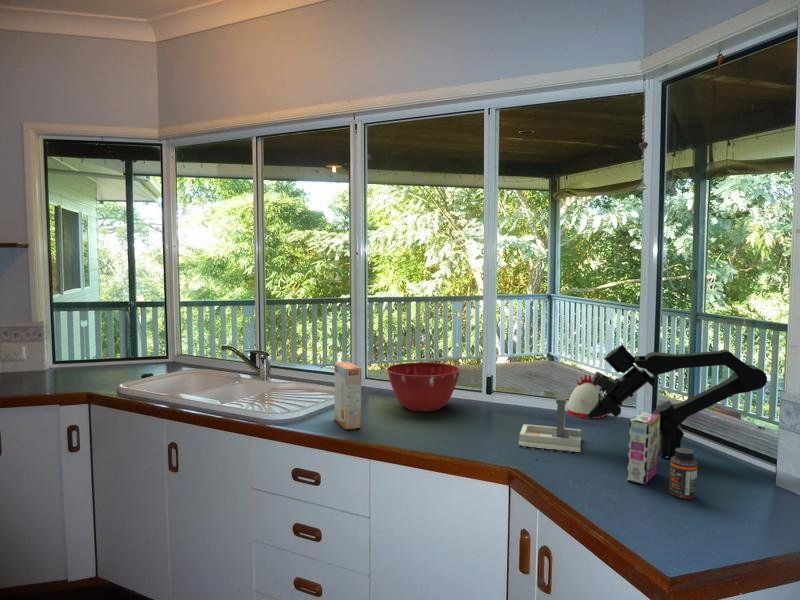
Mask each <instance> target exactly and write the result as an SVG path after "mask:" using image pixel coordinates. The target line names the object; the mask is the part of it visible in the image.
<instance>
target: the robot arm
mask: <svg viewBox="0 0 800 600" xmlns="http://www.w3.org/2000/svg"><path fill="white" fill-rule="evenodd" d="M603 359H604V361H606V362H607V364H608V365H610V367H611V368H613V370H614V371H615V372H616V373H622V374H624V375H622V376H621V377H616V378H615V379H613V378H611V377H610V376H608V375H605V374H604V373H601V372H599V371H596V372H595V374H594V375H593V376H592V378H591V380H592V383H593V384H595V385H596V386H599V388H598V389H599V391H600V392H601V393H602V394H600V393H598V401H597V403H596V404H595V406H594V407H593V408H592V410H591V411H590V412H589V414H588V415H587V416H588V417H589V418H593V417H597V416H601V415H605V414H606V415H609V414H612V416H614V417H615V418H617V417H618V416H620V415H621V413H622V408H621V406H622V405H623V402H625V401H626V400H628V399H629V398H632V397H634V394H635V393H636V392H637V391H639V390H640V389H642V387H644V386H645V385H646V384H647V383H648V384H649V385H650V386H651V387H653V388H654V387H655V385H656V384H655V381H656V376H657V375H659V376H660V375H663V374H666V373H670V372H673V371H676V370H680V369H689V368H702V367H705V368H706V367H714V366H715V367H716V366H718V367H719V366H725V367H727V368H729V369H730V370H731V371H732V372H733V373H731V375H730V376H729V377H727V378H726V379H725V380H724V381H722V382H720V383H718V384H715V385H714V386H712V387H710V388H708V389H706V390H704V391H701V392H700V393H698V394H695V395H694V396H691V397H689V398H688V399H685V400H683V401H681V402H678V403H672V402H671V400H667V401H665V402H664V403H663V404H660V405H656V408H655V409H654V410H653V411H652V413H653V414H658V415H660V431H659V447H658V450H659V452H658V453H659V454H662V455H661V456H663V457H666V456H668V457H673V456H675V449H676V448H682V439H683V437H684V435H685V433H684V430H683V429H682V427H681V425H682V424H683V422H684V421H685V420H686V419H688V418H689V417H691V416H692V415H695V414H697V413H699V412H701V411H703V410H706V409H708V408H710V407H711V406H713V405H715V404H718V403H720V402H722V401H724V400H726V399H728V398H731V397H732V396H734V395H738V394H744V393H745V394H746V393H750V392H753V391H757V390H761V389H762V388H764V387H765V386H766V385H767V382H768V377H767V375H766V372H764V371H763V370H762V369H760V368H759V367H757V366H755V365H753V364H747V363H745V362H744V361H742V360H741V359H739V358H738V357H736V356H735V355H734V353H732V352H731V351H729V350H728V349H720V350H714V351H703V352H702V351H701V352H689V353H679V354H676V353H669V352H668V353H667V352H656V351H651V352H649V353H647V354H646V355H638V356H636V355H635V356H633V355H632V354H631V352H629V351H628V349H627V348H626V347H625V346H624V344H620V345H619V346H617V347H615V348H614V349H612V350H611V351H610V352H609V353H608V354H606V356H604V358H603ZM639 368H640V369H639ZM654 375H656V376H654ZM589 418H588V419H589ZM661 456H660V457H661Z"/></svg>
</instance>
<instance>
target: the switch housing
mask: <svg viewBox="0 0 800 600" xmlns="http://www.w3.org/2000/svg"><path fill="white" fill-rule="evenodd" d="M553 430H557V426H549V425H547V426H546V425H535V424H525V423H523V425H522V428H521V430H520V432H519V438H518V439H519V440H518V446H519V445H522V446H529V447H537V448H546V449H557V450H569V451H575V452H580V453H581V445H582V429H580V428H579V429H578V428H568V427H565V431H569V438H561V437H552V432H553Z"/></svg>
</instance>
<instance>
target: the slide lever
mask: <svg viewBox="0 0 800 600" xmlns="http://www.w3.org/2000/svg"><path fill="white" fill-rule="evenodd" d="M567 398H568V394H567V393H557V395H556V400H555V405H556V409H557V412H556V417H557V418H556V427H557V430H553V432H552V437H561V438H569V431H565V428H566V427H565V426H566V425H565V424H566V405H567Z"/></svg>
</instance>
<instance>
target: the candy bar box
mask: <svg viewBox="0 0 800 600" xmlns="http://www.w3.org/2000/svg"><path fill="white" fill-rule="evenodd" d="M628 434H629V435H628V451H627V452H628V454H627V472H626V481H627V480H630V481H635V482H639V483H643V484H646V483H647V482H648V481H649V480H650V479H651V478H652V477H653V476H654V475H655V474H656V473H657V474H658V463H659V462H658V461H659V455H658V450H659V442H660V415H658V414H653V412H645V411H642V412H640V413H639V414H637V415H636V416H634V417H632V418H631V419H629V433H628ZM657 474H656V475H657ZM656 475H655V476H656ZM655 476H654V477H655ZM654 477H653V478H654ZM653 478H652V479H653ZM652 479H651V480H652ZM651 480H650V481H651ZM650 481H649V482H650ZM649 482H648V483H649ZM648 483H647V484H648ZM647 484H646V485H647Z"/></svg>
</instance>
